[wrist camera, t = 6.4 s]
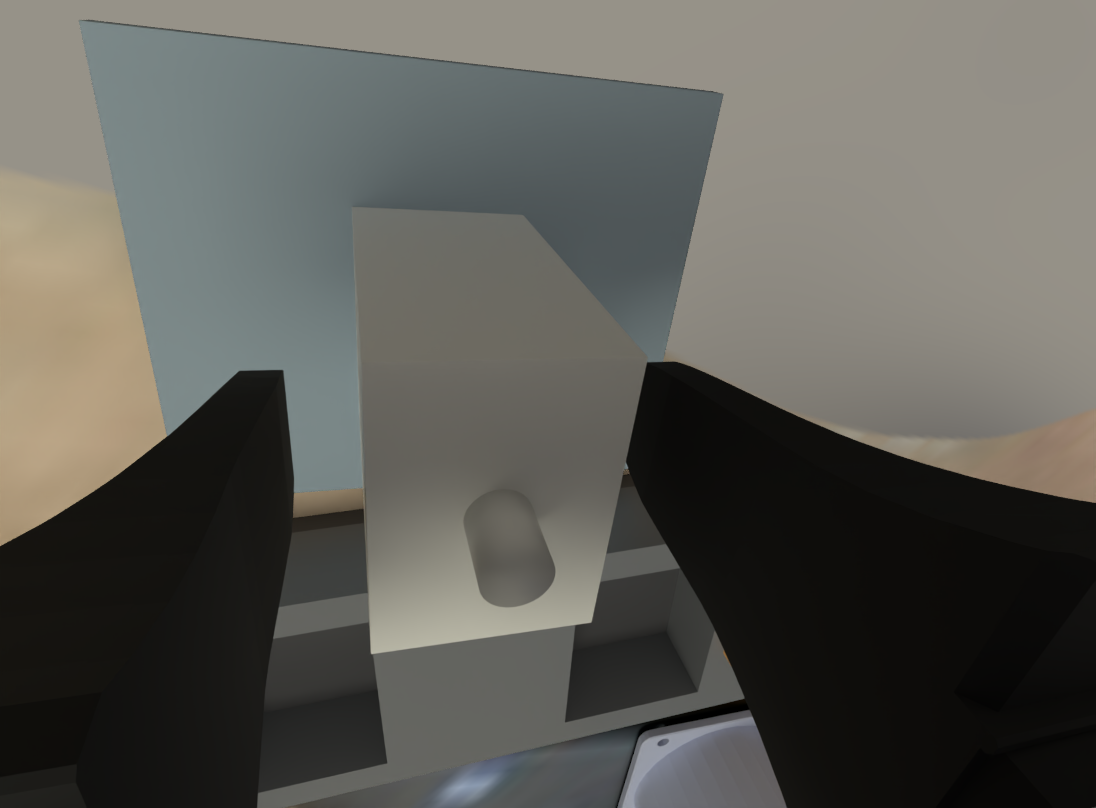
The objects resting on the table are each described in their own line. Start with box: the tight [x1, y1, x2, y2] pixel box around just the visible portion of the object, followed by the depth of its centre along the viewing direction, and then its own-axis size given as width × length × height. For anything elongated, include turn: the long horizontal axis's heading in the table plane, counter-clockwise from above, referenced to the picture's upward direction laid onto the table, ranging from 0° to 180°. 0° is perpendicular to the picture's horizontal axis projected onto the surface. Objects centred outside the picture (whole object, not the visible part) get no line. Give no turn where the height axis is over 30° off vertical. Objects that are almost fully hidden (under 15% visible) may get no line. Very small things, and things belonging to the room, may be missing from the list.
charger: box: [352, 207, 648, 654], centre depth 12 cm, size 4×5×8 cm
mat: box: [79, 20, 723, 493], centre depth 15 cm, size 12×10×1 cm
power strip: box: [257, 474, 744, 808], centre depth 19 cm, size 20×8×4 cm, turn 87°
